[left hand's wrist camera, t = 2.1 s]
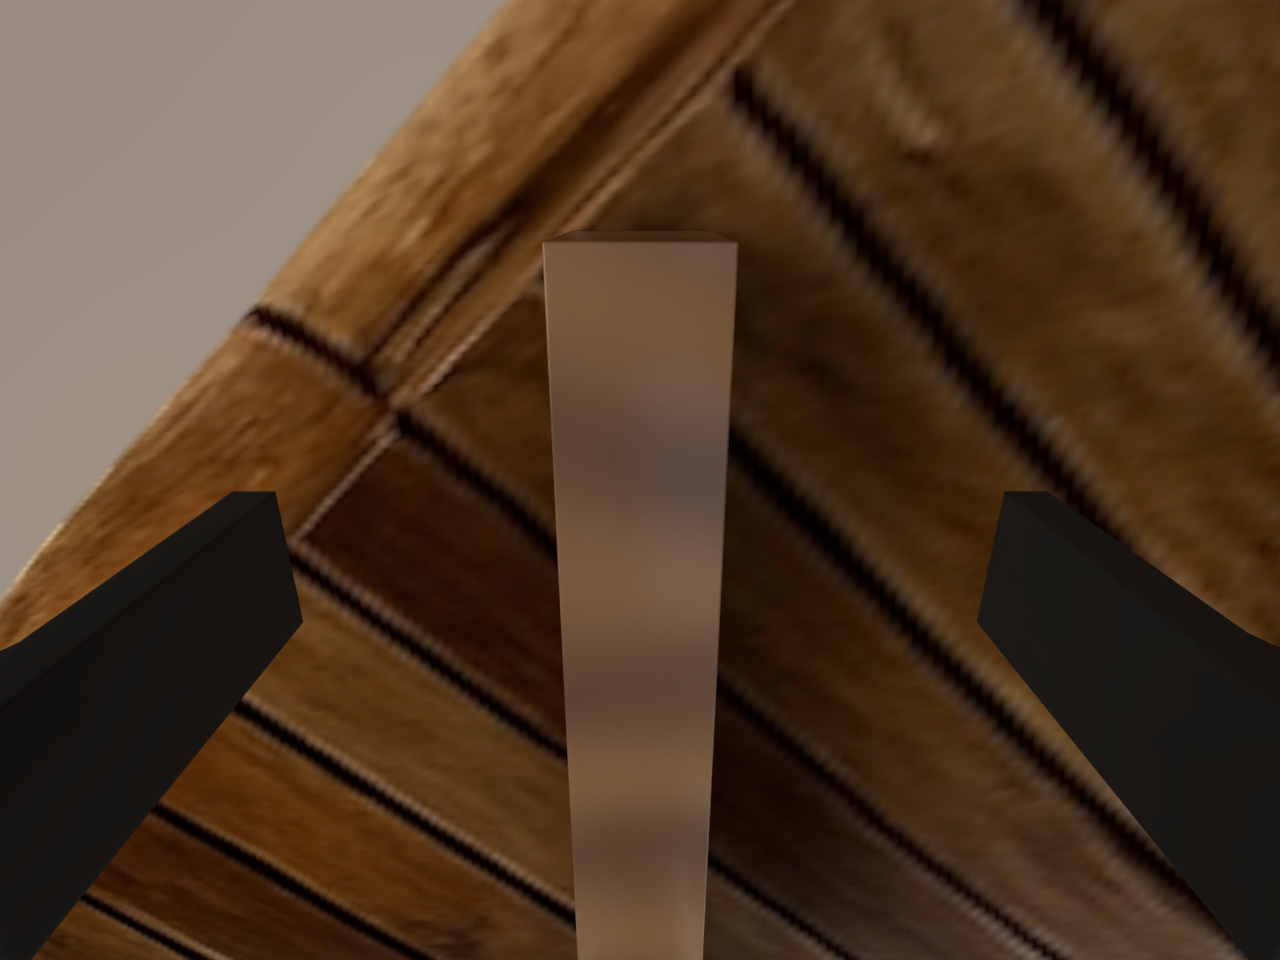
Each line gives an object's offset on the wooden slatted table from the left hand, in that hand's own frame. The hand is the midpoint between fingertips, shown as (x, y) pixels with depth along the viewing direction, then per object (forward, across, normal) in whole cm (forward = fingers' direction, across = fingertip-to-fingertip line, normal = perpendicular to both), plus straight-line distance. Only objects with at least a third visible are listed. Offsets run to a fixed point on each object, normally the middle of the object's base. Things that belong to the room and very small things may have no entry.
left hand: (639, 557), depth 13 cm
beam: (+15, 0, -24) cm, 29 cm away
